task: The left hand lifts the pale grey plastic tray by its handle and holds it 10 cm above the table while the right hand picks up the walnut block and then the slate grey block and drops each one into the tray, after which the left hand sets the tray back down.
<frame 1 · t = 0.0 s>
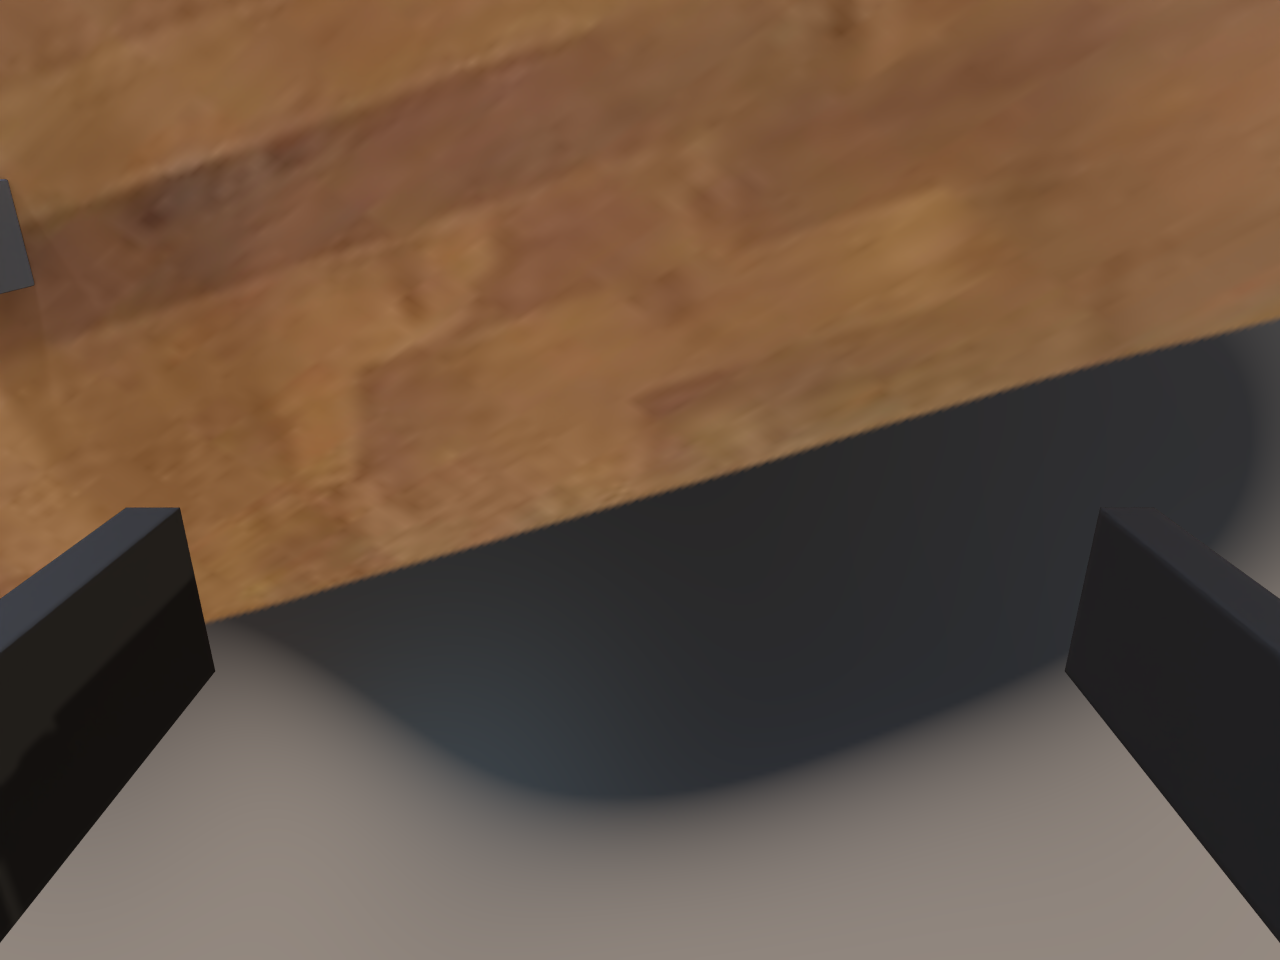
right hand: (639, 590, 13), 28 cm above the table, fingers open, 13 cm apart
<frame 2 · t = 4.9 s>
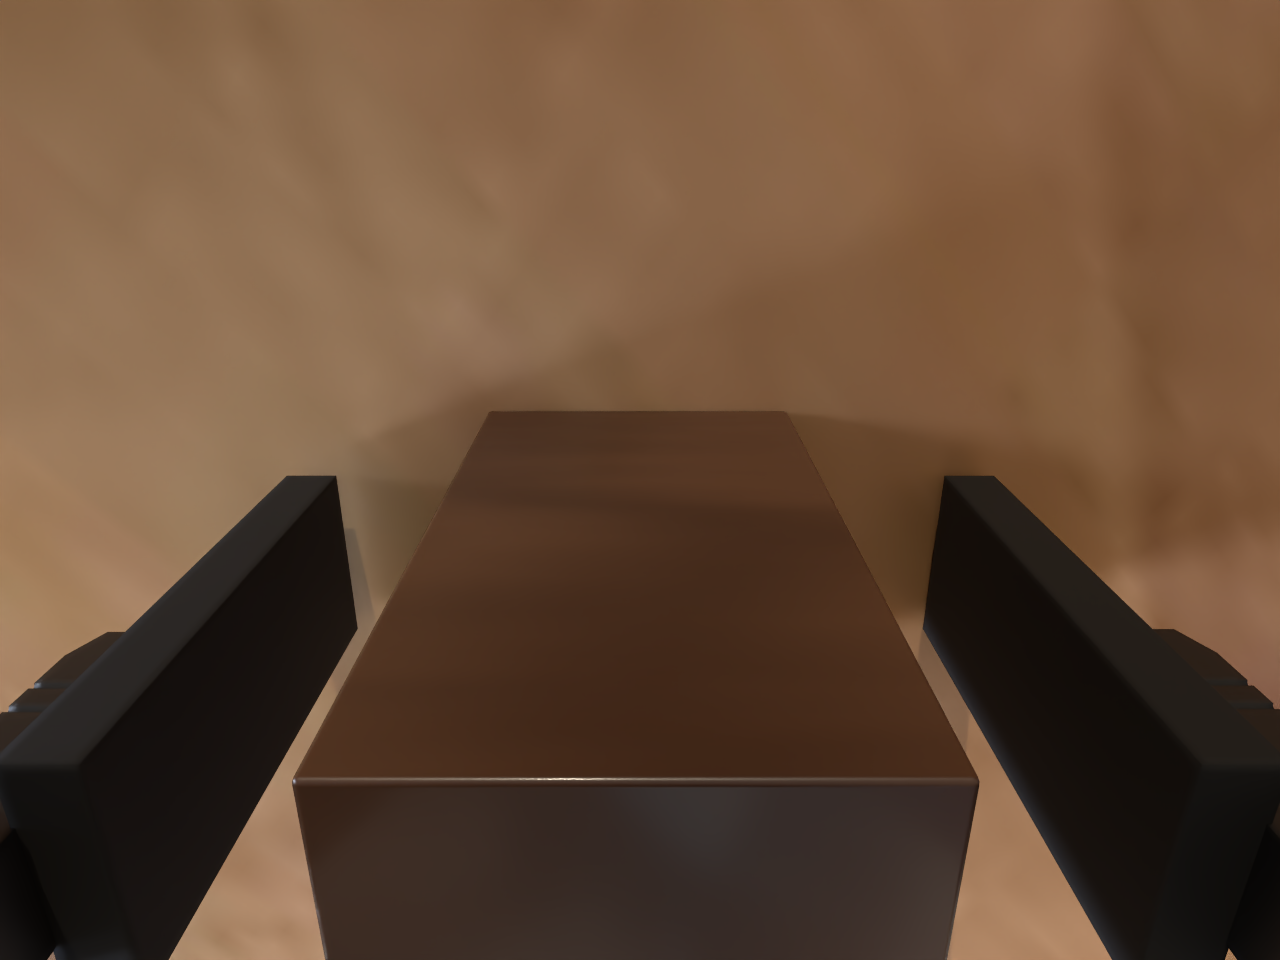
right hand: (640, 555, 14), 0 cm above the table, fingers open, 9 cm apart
walnut block: (637, 544, 14), on the table
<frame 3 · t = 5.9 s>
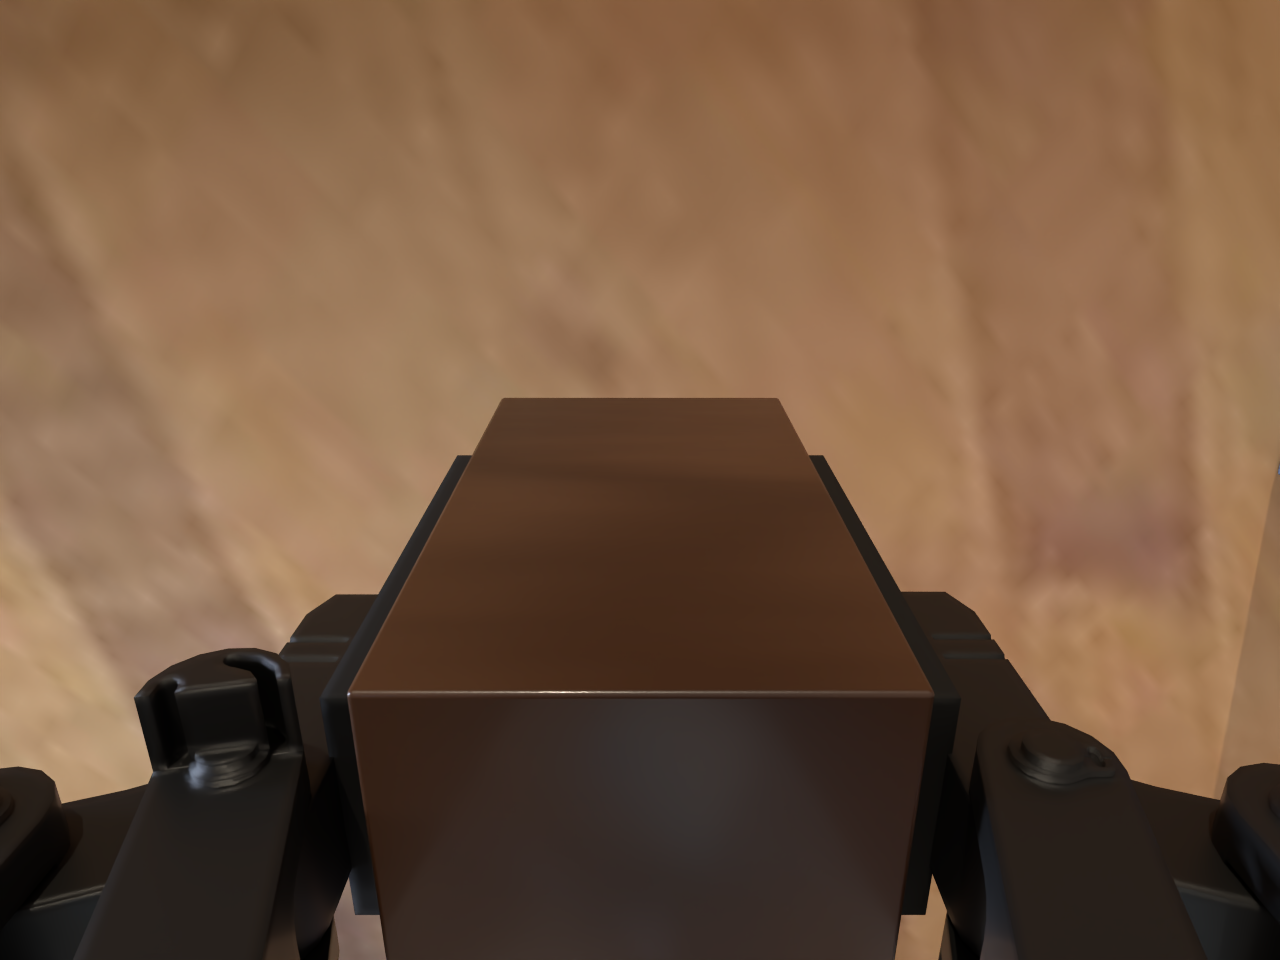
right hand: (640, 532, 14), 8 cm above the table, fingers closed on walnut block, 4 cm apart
walnut block: (640, 523, 15), point 7 cm above the table, touching right hand
when the right hand's fingers open (18 cm above the table, at t = 9.3 s): walnut block drops 7 cm, resting on grey tray.
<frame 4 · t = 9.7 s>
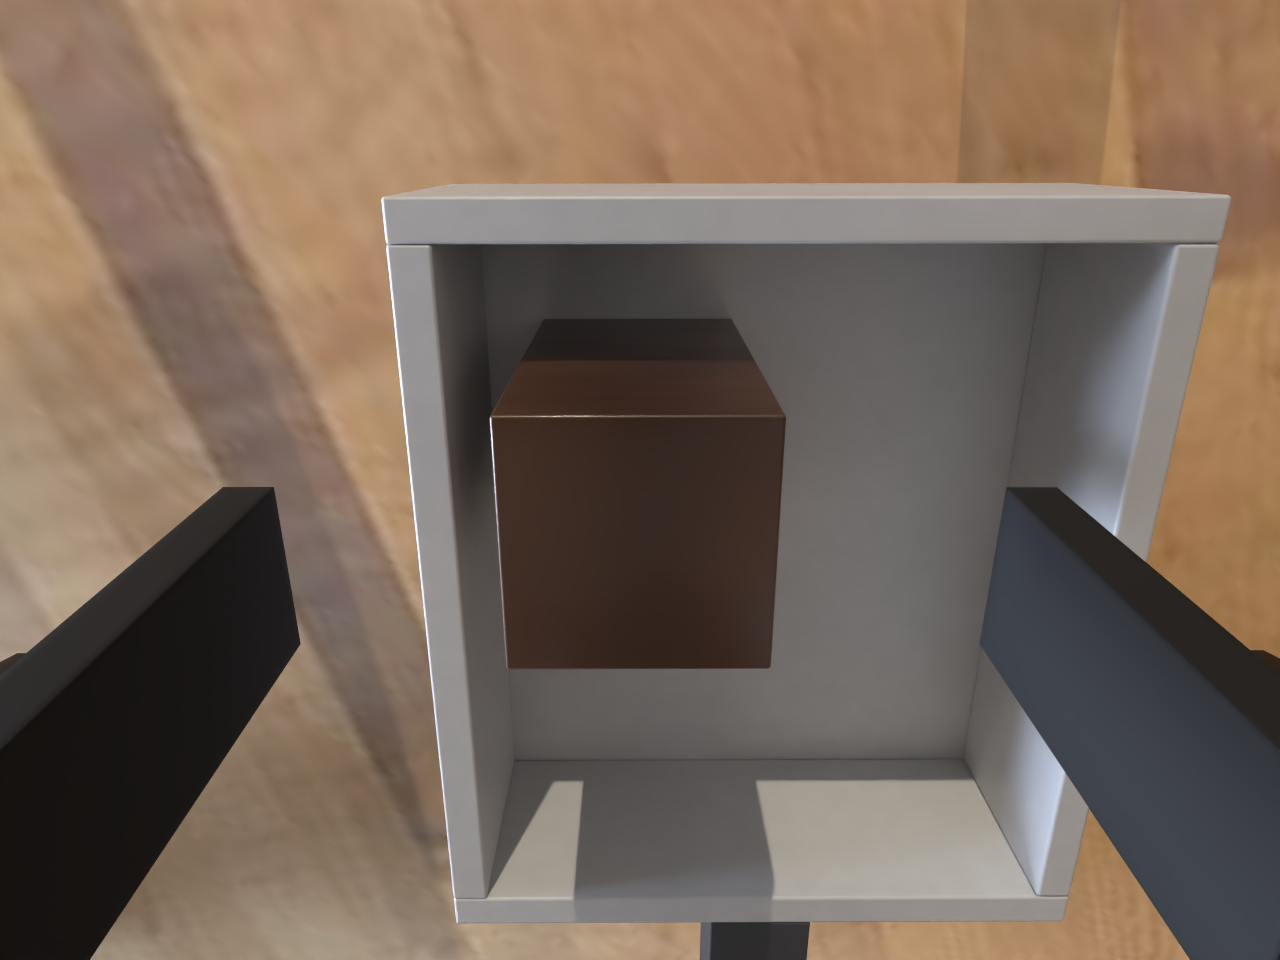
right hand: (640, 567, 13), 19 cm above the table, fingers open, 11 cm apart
walnut block: (637, 409, 21), point 10 cm above the table, touching grey tray
grey tray: (746, 510, 23), point 10 cm above the table, touching left hand, walnut block
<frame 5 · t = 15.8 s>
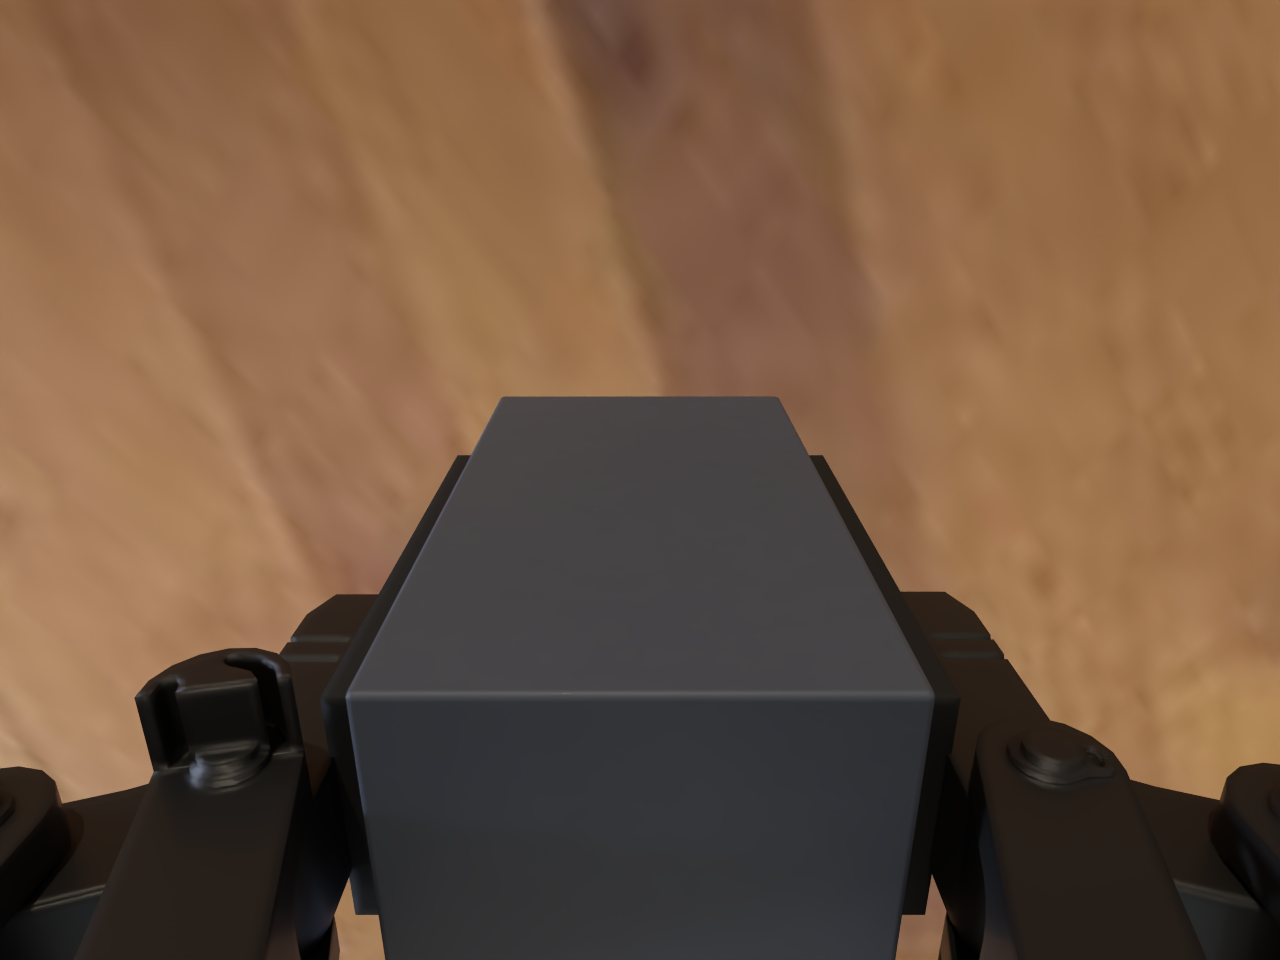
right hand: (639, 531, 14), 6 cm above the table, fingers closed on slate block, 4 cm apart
slate block: (639, 522, 15), point 6 cm above the table, touching right hand
when the right hand's fingers open (18 cm above the table, at t = 19.3 s): slate block drops 7 cm, resting on grey tray.
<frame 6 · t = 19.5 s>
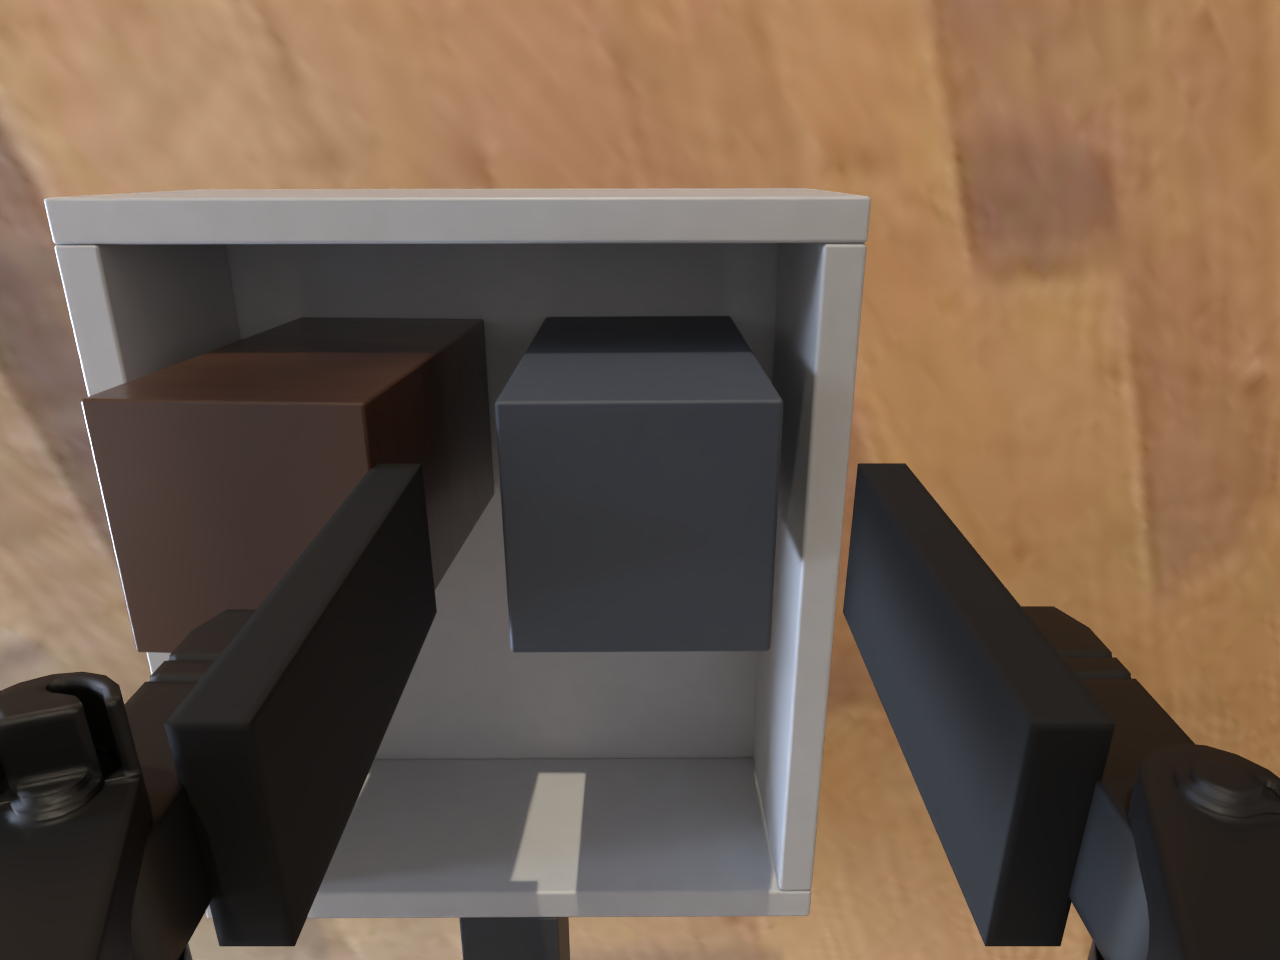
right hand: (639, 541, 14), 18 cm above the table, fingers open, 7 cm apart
walnut block: (400, 408, 21), point 10 cm above the table, touching grey tray, right hand
grey tray: (521, 510, 23), point 9 cm above the table, touching left hand, slate block, walnut block
slate block: (638, 405, 22), point 10 cm above the table, touching grey tray
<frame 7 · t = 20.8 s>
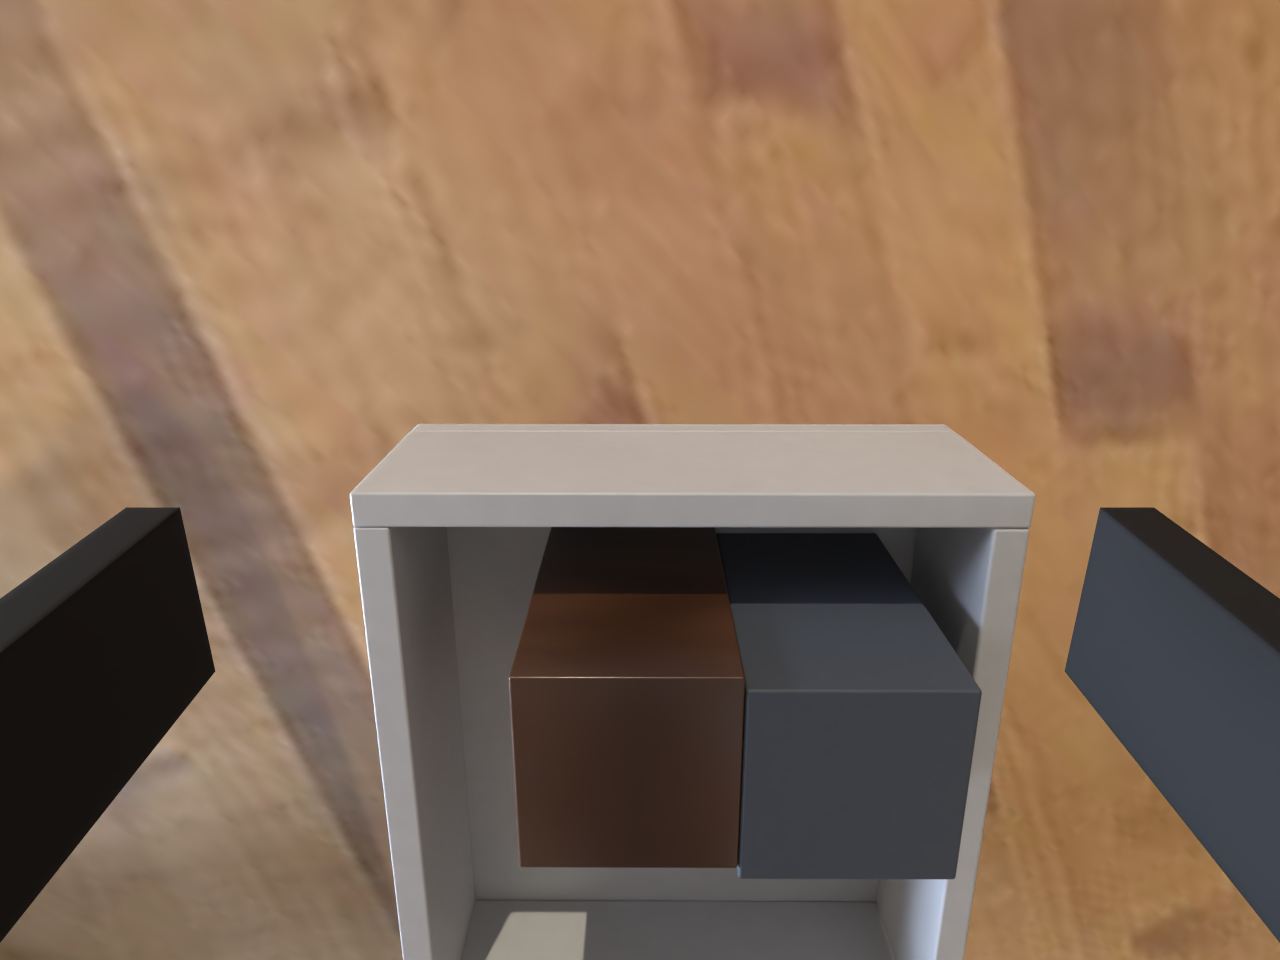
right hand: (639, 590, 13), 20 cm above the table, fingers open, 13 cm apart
walnut block: (633, 596, 25), point 10 cm above the table, touching grey tray
grey tray: (677, 685, 26), point 9 cm above the table, touching left hand, slate block, walnut block
slate block: (791, 605, 25), point 10 cm above the table, touching grey tray
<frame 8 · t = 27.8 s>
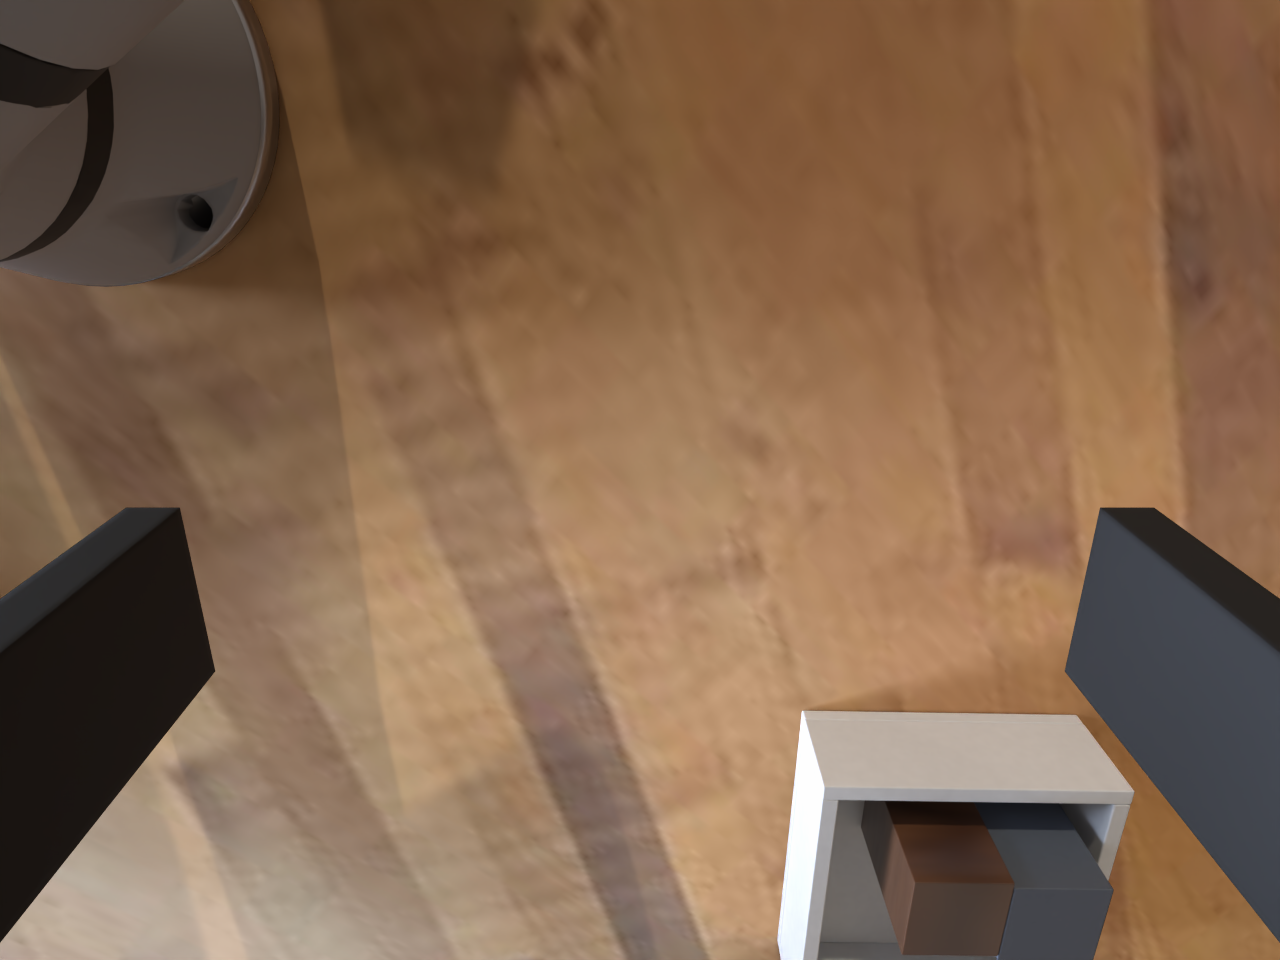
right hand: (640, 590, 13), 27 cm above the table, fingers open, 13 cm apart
walnut block: (906, 795, 47), point 1 cm above the table, touching grey tray
grey tray: (917, 833, 49), on the table, touching slate block, walnut block
slate block: (988, 800, 47), point 1 cm above the table, touching grey tray
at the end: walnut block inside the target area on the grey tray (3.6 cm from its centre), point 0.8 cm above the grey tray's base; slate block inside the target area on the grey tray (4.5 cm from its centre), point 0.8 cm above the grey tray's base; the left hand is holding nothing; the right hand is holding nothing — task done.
